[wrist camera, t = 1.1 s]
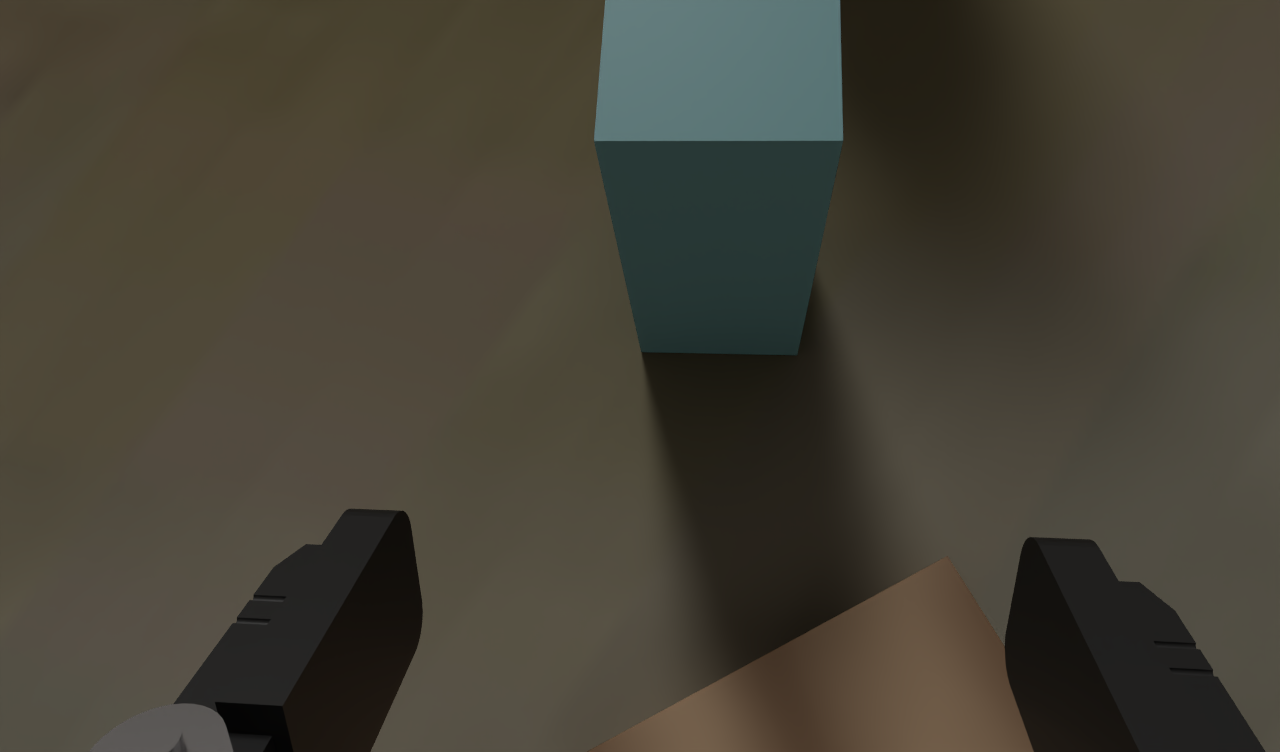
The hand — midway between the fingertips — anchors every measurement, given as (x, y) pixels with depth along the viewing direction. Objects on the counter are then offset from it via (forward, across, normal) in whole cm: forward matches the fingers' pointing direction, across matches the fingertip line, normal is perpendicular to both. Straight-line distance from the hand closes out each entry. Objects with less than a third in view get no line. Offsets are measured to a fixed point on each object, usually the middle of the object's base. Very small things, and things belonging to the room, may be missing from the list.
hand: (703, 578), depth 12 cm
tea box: (+19, 0, +3) cm, 20 cm away
